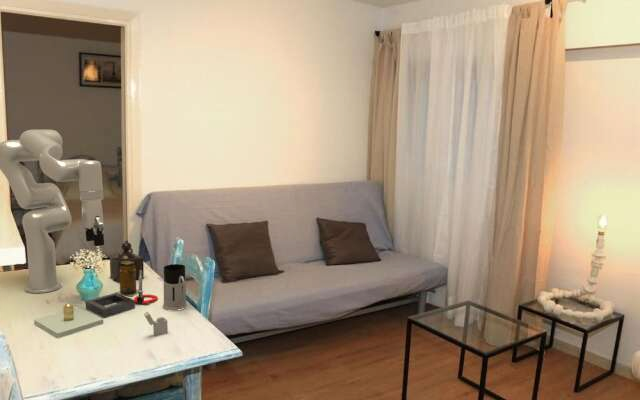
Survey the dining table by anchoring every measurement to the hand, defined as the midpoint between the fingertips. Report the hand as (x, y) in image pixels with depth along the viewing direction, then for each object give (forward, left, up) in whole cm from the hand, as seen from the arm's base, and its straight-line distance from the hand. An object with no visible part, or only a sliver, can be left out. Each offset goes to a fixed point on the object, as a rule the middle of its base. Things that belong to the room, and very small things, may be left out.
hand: (95, 243), depth 181 cm
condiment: (-4, +15, -24) cm, 28 cm away
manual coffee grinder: (-17, +23, -24) cm, 37 cm away
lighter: (+36, -1, -24) cm, 43 cm away
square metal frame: (+6, +1, -23) cm, 24 cm away
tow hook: (+8, +14, -24) cm, 29 cm away
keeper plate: (+8, -15, -23) cm, 29 cm away
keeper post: (+8, -15, -22) cm, 28 cm away
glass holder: (+24, +17, -24) cm, 38 cm away
